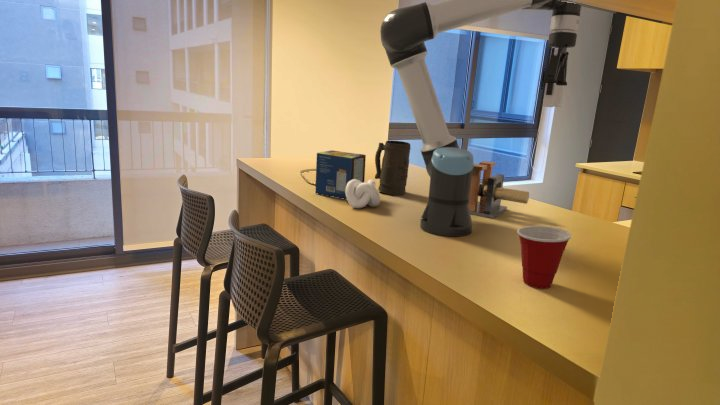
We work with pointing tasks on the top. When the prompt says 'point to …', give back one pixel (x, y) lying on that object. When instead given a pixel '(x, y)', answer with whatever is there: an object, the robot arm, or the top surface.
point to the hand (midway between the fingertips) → (552, 107)
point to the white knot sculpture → (362, 193)
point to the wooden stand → (489, 203)
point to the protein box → (338, 172)
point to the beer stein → (393, 167)
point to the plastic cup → (541, 253)
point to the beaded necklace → (308, 171)
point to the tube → (506, 194)
